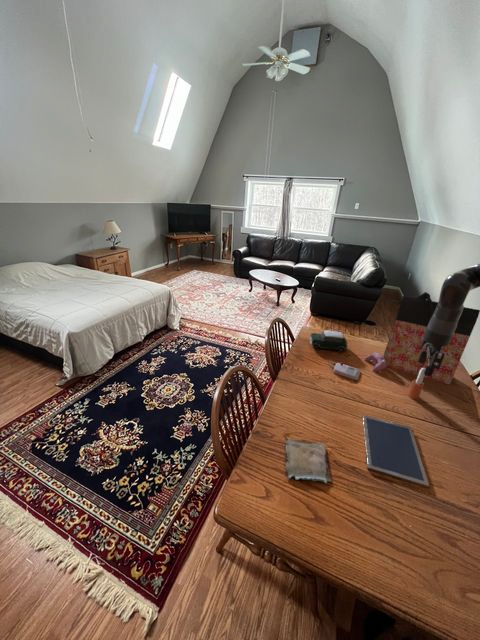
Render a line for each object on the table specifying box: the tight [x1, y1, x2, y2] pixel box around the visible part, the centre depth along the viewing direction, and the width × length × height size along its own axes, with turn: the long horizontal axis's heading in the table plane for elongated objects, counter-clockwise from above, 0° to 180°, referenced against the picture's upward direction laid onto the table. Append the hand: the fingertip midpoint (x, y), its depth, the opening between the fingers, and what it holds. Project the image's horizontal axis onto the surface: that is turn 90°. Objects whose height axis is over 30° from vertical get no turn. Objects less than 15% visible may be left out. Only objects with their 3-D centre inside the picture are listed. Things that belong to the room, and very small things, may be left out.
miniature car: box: [309, 329, 348, 353], centre depth 134 cm, size 9×18×8 cm, turn 80°
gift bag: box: [382, 291, 480, 385], centre depth 114 cm, size 29×14×35 cm, turn 60°
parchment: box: [284, 438, 332, 485], centre depth 76 cm, size 12×13×1 cm
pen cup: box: [407, 379, 425, 400], centre depth 102 cm, size 4×4×7 cm
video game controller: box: [363, 352, 388, 373], centre depth 120 cm, size 10×5×7 cm, turn 0°
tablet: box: [361, 414, 430, 489], centre depth 82 cm, size 15×21×1 cm
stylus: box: [415, 368, 425, 385], centre depth 101 cm, size 2×2×13 cm
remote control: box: [327, 361, 362, 381], centre depth 116 cm, size 7×16×3 cm, turn 58°
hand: (424, 368), depth 98 cm, fingers open, 8 cm apart
